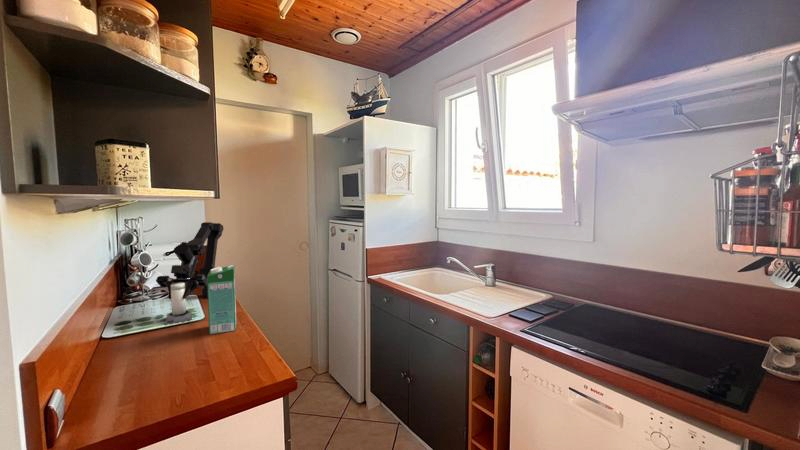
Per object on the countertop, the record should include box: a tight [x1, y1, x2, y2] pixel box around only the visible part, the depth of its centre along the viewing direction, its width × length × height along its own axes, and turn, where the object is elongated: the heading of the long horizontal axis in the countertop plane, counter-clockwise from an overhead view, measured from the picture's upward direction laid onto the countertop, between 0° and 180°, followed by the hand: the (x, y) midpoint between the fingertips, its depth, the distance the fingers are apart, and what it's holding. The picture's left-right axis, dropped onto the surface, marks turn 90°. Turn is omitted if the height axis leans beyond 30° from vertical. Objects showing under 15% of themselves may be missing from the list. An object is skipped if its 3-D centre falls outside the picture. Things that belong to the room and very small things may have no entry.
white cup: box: [170, 283, 187, 315], centre depth 138 cm, size 5×5×12 cm
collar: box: [165, 309, 193, 325], centre depth 139 cm, size 9×9×3 cm
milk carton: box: [207, 264, 237, 335], centre depth 129 cm, size 9×9×25 cm
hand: (176, 298), depth 137 cm, fingers closed on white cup, 5 cm apart
